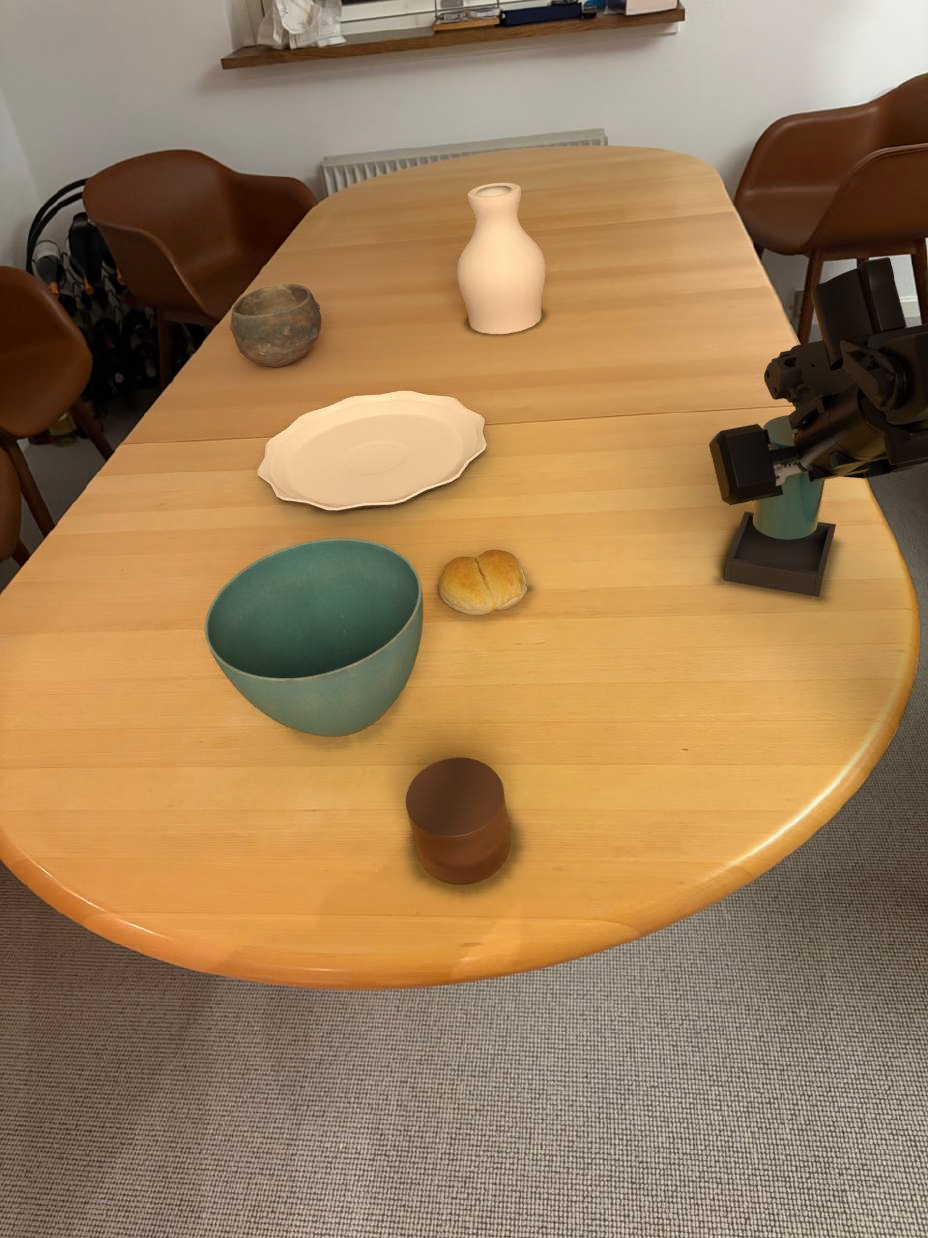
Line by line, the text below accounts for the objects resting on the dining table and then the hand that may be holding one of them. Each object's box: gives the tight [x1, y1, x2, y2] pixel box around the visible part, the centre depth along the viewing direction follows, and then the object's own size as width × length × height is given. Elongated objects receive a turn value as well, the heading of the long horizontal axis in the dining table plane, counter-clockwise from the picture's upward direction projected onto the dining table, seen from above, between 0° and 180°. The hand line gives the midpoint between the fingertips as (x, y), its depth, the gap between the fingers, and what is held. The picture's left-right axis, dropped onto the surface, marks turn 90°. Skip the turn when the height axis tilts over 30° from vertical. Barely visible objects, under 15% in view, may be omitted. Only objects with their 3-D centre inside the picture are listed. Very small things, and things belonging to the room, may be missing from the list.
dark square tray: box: [723, 511, 837, 598], centre depth 88 cm, size 9×9×2 cm
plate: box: [256, 390, 488, 512], centre depth 114 cm, size 29×29×2 cm
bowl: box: [229, 283, 322, 368], centre depth 140 cm, size 14×15×10 cm
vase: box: [456, 182, 547, 335], centre depth 139 cm, size 14×14×20 cm
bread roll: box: [437, 549, 528, 616], centre depth 90 cm, size 8×9×4 cm
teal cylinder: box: [753, 414, 826, 540], centre depth 83 cm, size 6×6×10 cm
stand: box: [405, 757, 512, 886], centre depth 66 cm, size 7×7×6 cm
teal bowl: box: [204, 537, 424, 738], centre depth 77 cm, size 18×18×12 cm
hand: (784, 474), depth 84 cm, fingers closed on teal cylinder, 6 cm apart
